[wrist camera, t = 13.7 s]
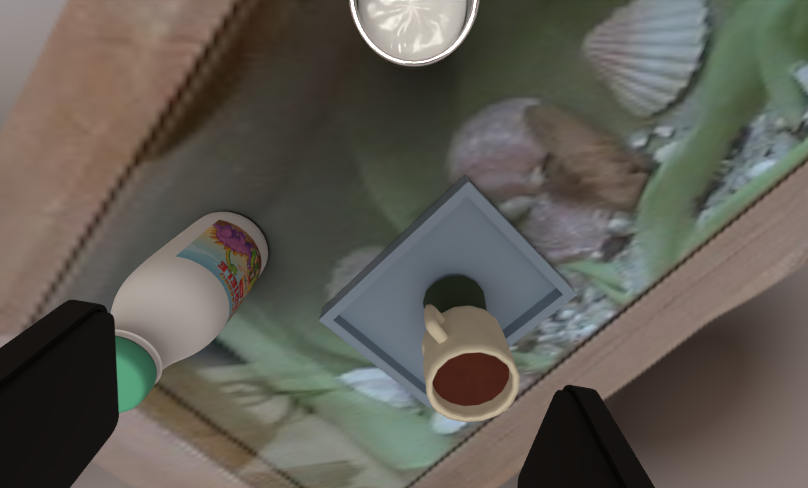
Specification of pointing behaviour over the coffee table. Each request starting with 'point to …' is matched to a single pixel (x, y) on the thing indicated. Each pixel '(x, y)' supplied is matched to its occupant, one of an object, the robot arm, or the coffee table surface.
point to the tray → (433, 261)
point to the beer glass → (413, 29)
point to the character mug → (465, 353)
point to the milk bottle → (183, 298)
